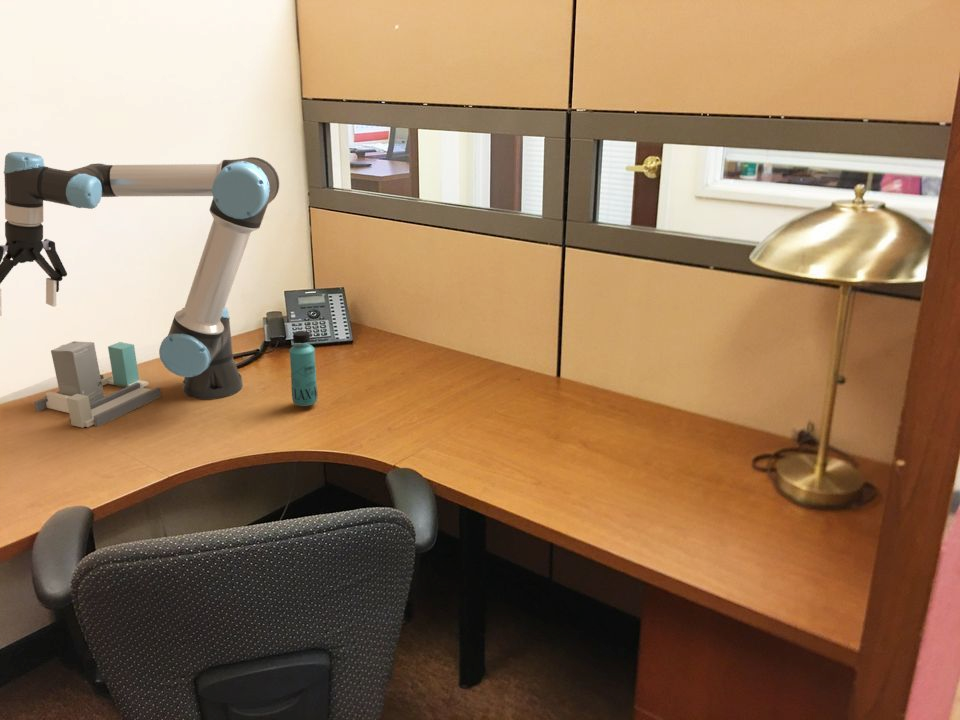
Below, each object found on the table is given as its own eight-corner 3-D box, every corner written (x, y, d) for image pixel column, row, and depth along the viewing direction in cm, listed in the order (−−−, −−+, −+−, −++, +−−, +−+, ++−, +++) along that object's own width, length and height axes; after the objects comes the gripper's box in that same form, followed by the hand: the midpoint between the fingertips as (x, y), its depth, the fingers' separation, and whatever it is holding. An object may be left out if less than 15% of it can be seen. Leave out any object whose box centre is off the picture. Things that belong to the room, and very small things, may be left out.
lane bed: (161, 396, 198) (160, 387, 198) (98, 426, 181) (96, 417, 180) (101, 383, 206) (100, 374, 205) (36, 410, 189) (34, 401, 188)
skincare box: (84, 412, 189) (73, 352, 183) (59, 409, 190) (48, 349, 184) (106, 398, 196) (97, 341, 191) (82, 396, 198) (72, 338, 192)
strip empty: (156, 394, 199) (152, 369, 196) (85, 428, 179) (80, 401, 177) (141, 391, 201) (137, 366, 198) (69, 424, 181) (64, 397, 179)
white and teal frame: (148, 384, 205) (142, 346, 201) (79, 415, 186) (71, 374, 182) (117, 377, 209) (111, 340, 205) (46, 407, 190) (38, 366, 186)
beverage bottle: (287, 408, 193) (281, 334, 186) (302, 399, 199) (297, 327, 191) (309, 413, 190) (304, 338, 183) (323, 403, 196) (319, 330, 189)
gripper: (63, 214, 185) (61, 296, 193) (-43, 221, 164) (-40, 313, 171) (84, 222, 183) (82, 305, 190) (-21, 230, 161) (-19, 323, 168)
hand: (24, 309), depth 180 cm, fingers open, 13 cm apart
